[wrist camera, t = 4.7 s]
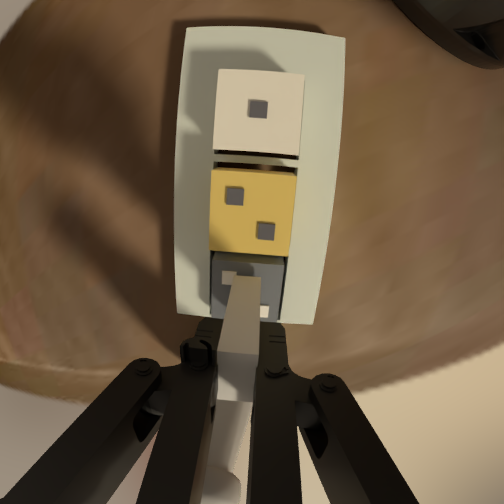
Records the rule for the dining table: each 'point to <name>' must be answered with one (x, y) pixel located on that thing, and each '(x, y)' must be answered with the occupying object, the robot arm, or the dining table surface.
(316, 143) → the tile board
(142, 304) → the dining table surface
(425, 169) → the dining table surface
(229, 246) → the tile
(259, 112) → the tile
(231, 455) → the salt shaker
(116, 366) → the dining table surface
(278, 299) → the tile
